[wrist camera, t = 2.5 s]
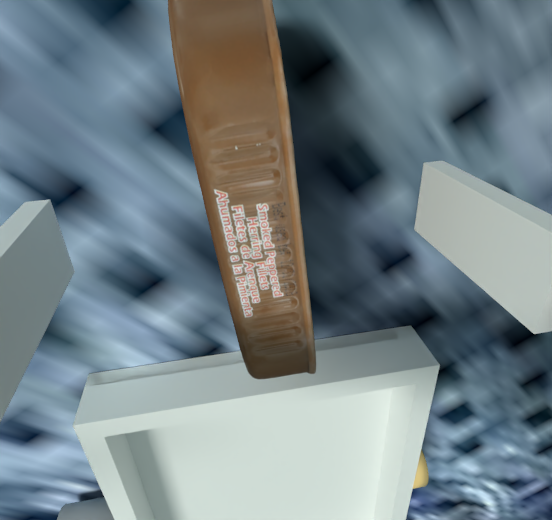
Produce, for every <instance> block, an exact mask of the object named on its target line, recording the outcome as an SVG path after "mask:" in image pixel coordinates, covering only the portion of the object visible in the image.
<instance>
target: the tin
mask: <svg viewBox="0 0 552 520" xmlns="http://www.w3.org/2000/svg"><path fill="white" fill-rule="evenodd" d="M168 13H169V23H170V31H171V40H172V48H173V56H174V62H175V68H176V73H177V79H178V85H179V90H180V95H181V100H182V106H183V111H184V115H185V120H186V125H187V130H188V135H189V140H190V144H191V149H192V153H193V157H194V161H195V166H196V170H197V174H198V179H199V183H200V187H201V191H202V195H203V200H204V204H205V209H206V213H207V217H208V221H209V225H210V230H211V234H212V239H213V243H214V247H215V251H216V255H217V259H218V263H219V268H220V272H221V276H222V280H223V284H224V288H225V292H226V295H227V299H228V303H229V307H230V312H231V316H232V319H233V323H234V327H235V330H236V334H237V338H238V342H239V346H240V350H241V353H242V357H243V360H244V363H245V366H246V368H247V371H248V373H249V374H250V375H251V376H252V377H253V378H255V379H269V378H276V377H282V376H288V375H293V374H300V373H306V372H307V373H309V374H314V373H315V372H316V350H315V340H314V331H313V322H312V312H311V304H310V293H309V285H308V277H307V266H306V259H305V249H304V240H303V231H302V222H301V213H300V203H299V193H298V185H297V177H296V166H295V157H294V146H293V137H292V128H291V119H290V110H289V102H288V95H287V88H286V81H285V75H284V69H283V62H282V53H281V48H280V41H279V38H278V31H277V27H276V19H275V15H274V9H273V4H272V0H168Z"/></svg>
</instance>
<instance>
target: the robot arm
mask: <svg viewBox="0 0 552 520" xmlns="http://www.w3.org/2000/svg"><path fill="white" fill-rule="evenodd" d="M414 230H415V231H416V232H418V233H419V234H420V235H421V236H422V237H423V238H424V239H426V240H427V241H428V242H429V243H430V244H431V245H432V246H434V247H435V248H436V249H437V250H438V251H439V252H440V253H442V254H443V255H444V256H445V257H446V258H447V259H448V260H450V261H451V262H452V263H453V264H454V265H455V266H457V267H458V268H459V269H460V270H461V271H462V272H463V273H465V274H466V275H467V276H468V277H469V278H470V279H471V280H473V281H474V282H475V283H476V284H477V285H478V286H479V287H481V288H482V289H483V290H484V291H485V292H486V293H487V294H489V295H490V296H491V297H492V298H493V299H494V300H495V301H497V302H498V303H499V304H500V305H501V306H502V307H504V308H505V309H506V310H507V311H508V312H509V313H510V314H512V315H513V316H514V317H515V318H516V319H517V320H518V321H520V322H521V323H522V324H523V325H524V326H525V327H526V328H528V329H529V330H530V331H531V332H532V333H533V334H538V333H544V332H550V331H552V215H551V214H549V213H547V212H545V211H543V210H541V209H539V208H537V207H535V206H533V205H531V204H529V203H527V202H525V201H523V200H521V199H519V198H517V197H515V196H513V195H511V194H509V193H507V192H505V191H503V190H501V189H499V188H497V187H495V186H493V185H491V184H489V183H487V182H485V181H483V180H481V179H479V178H476V177H474V176H472V175H470V174H468V173H466V172H464V171H462V170H460V169H458V168H456V167H454V166H452V165H450V164H448V163H446V162H444V161H435V162H425V163H424V165H423V172H422V179H421V186H420V193H419V200H418V207H417V214H416V222H415V229H414ZM74 272H75V271H74V269H73V266H72V263H71V260H70V257H69V254H68V251H67V248H66V245H65V242H64V239H63V236H62V233H61V230H60V227H59V224H58V221H57V219H56V216H55V213H54V210H53V207H52V204H51V201H50V200H41V201H31V202H25V203H24V204H23V205H22V206H21V207H20V208H19V209H18V210H17V211H16V212H15V213H14V214H13V215H12V216H11V217H10V218H9V219H8V220H7V221H6V222H5V223H4V224H3V225H2V226H1V227H0V422H1V420H2V418H3V416H4V414H5V411H6V409H7V407H8V405H9V403H10V401H11V399H12V397H13V395H14V393H15V391H16V389H17V387H18V385H19V383H20V381H21V379H22V377H23V375H24V373H25V371H26V369H27V367H28V365H29V363H30V361H31V359H32V357H33V355H34V353H35V351H36V349H37V347H38V345H39V343H40V341H41V339H42V336H43V334H44V332H45V330H46V328H47V326H48V324H49V322H50V320H51V318H52V316H53V314H54V312H55V310H56V308H57V306H58V304H59V302H60V300H61V298H62V296H63V294H64V292H65V290H66V288H67V286H68V284H69V282H70V280H71V278H72V276H73V274H74Z"/></svg>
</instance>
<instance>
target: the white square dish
mask: <svg viewBox="0 0 552 520" xmlns="http://www.w3.org/2000/svg"><path fill="white" fill-rule="evenodd" d="M315 350H316V372H315V373H314V374H309V373H307V372H306V373H300V374H293V375H288V376H282V377H276V378H269V379H255V378H253V377H252V376H251V375H250V374H249V373H248V371H247V368H246V366H245V363H244V360H243V357H242V353H241V351H237V352H231V353H224V354H217V355H211V356H204V357H197V358H191V359H184V360H177V361H171V362H164V363H158V364H151V365H144V366H138V367H131V368H124V369H118V370H111V371H104V372H98V373H91V374H89V375H88V378H87V381H86V385H85V388H84V391H83V394H82V397H81V401H80V404H79V407H78V410H77V413H76V417H75V420H74V423H73V428H74V430H75V432H76V434H77V437H78V439H79V441H80V443H81V446H82V448H83V450H84V452H85V455H86V457H87V459H88V461H89V464H90V466H91V468H92V470H93V473H94V475H95V477H96V479H97V482H98V484H99V486H100V488H101V491H102V493H103V495H104V497H101V498H96V499H91V500H85V501H80V502H75V503H70V504H65V505H64V506H63V507H62V508H61V510H60V512H59V515H58V518H57V520H406V516H407V512H408V507H409V503H410V498H411V494H412V489H414V488H419V487H424V486H426V485H427V483H428V468H427V464H426V460H425V457H424V454H423V451H422V449H421V448H422V444H423V439H424V435H425V430H426V426H427V421H428V417H429V412H430V407H431V403H432V398H433V394H434V389H435V385H436V380H437V376H438V371H439V367H440V364H439V363H438V362H437V360H436V359H435V358H434V356H433V355H432V353H431V352H430V351H429V349H428V348H427V347H426V345H425V344H424V343H423V341H422V340H421V338H420V337H419V336H418V334H417V333H416V332H415V330H414V329H413V328H412V326H411V325H410V326H404V327H397V328H390V329H384V330H377V331H370V332H364V333H357V334H350V335H344V336H337V337H330V338H324V339H317V340H315Z"/></svg>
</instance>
